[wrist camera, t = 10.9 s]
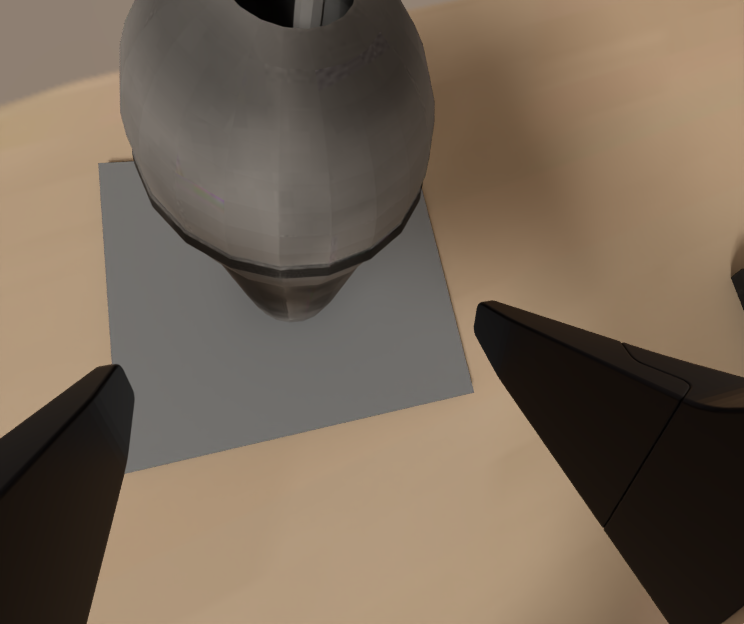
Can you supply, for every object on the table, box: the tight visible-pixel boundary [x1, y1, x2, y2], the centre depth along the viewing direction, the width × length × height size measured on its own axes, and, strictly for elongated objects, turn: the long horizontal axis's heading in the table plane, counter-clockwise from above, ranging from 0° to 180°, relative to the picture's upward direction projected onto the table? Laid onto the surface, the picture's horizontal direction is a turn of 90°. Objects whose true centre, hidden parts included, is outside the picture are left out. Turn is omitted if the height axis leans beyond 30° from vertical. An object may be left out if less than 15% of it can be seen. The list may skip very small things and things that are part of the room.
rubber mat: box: [98, 161, 474, 474], centre depth 21 cm, size 16×18×1 cm
